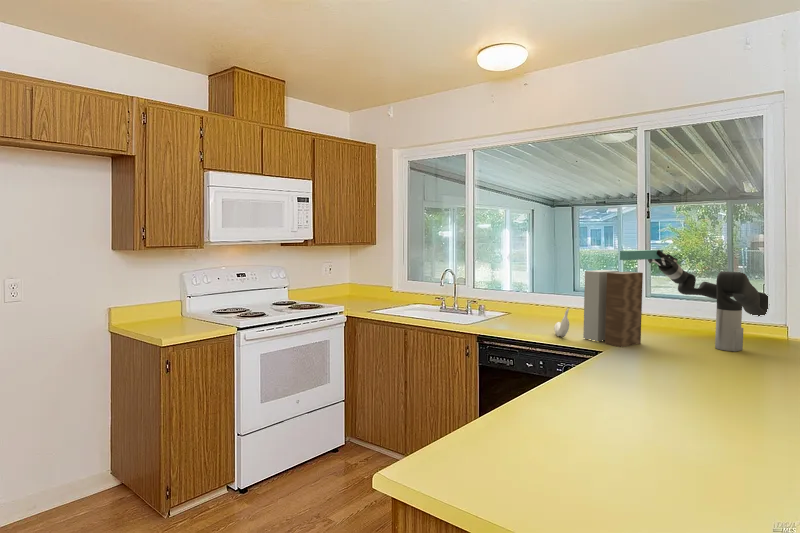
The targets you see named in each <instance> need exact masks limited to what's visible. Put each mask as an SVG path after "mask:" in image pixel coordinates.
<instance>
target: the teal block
mask: <svg viewBox="0 0 800 533" xmlns="http://www.w3.org/2000/svg"><path fill="white" fill-rule="evenodd" d="M657 250H658V249H638V250H637V249H636V250H619V260H620V261H639V260H648V259H661V258H660V257H659V256H658V255H657ZM659 250H660V251H661V252H662V253H664V252H663V251H664V250H663V249H659Z"/></svg>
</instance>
